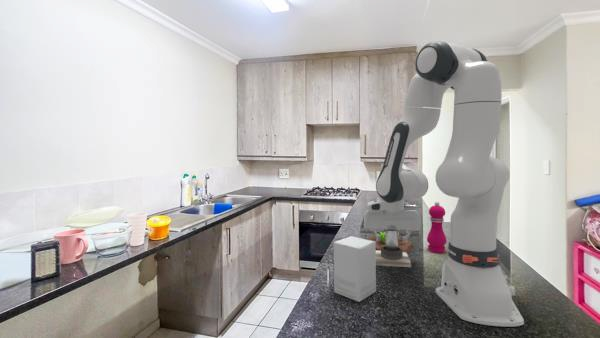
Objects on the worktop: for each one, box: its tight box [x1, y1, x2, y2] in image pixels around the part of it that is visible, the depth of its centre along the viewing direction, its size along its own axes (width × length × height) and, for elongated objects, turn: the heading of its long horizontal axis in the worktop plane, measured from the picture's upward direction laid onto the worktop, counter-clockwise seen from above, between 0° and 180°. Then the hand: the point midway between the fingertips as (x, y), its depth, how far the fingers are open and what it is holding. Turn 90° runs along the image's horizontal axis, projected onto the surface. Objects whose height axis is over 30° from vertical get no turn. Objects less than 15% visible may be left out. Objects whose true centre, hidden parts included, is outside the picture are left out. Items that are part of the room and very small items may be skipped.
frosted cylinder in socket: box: [386, 225, 399, 251], centre depth 112 cm, size 5×5×12 cm
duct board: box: [376, 245, 412, 268], centre depth 113 cm, size 12×12×4 cm
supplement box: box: [333, 235, 377, 303], centre depth 88 cm, size 9×9×15 cm
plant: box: [366, 230, 414, 255], centre depth 128 cm, size 20×20×11 cm
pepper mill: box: [426, 201, 448, 254], centre depth 122 cm, size 7×7×20 cm
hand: (391, 241), depth 113 cm, fingers open, 8 cm apart
